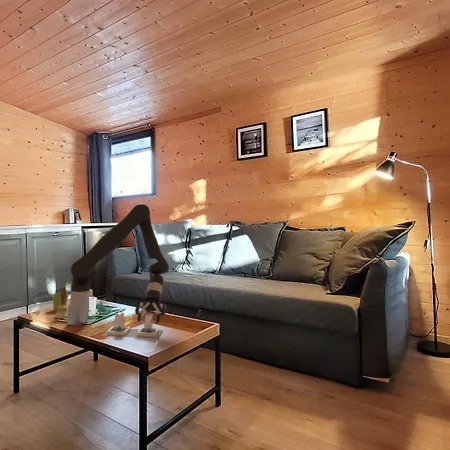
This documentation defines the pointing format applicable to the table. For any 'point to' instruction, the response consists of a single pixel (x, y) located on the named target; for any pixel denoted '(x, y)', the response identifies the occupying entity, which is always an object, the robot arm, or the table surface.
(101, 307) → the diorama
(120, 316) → the block
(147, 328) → the block
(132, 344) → the table surface
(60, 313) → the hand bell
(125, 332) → the pallet board
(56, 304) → the plant pot
